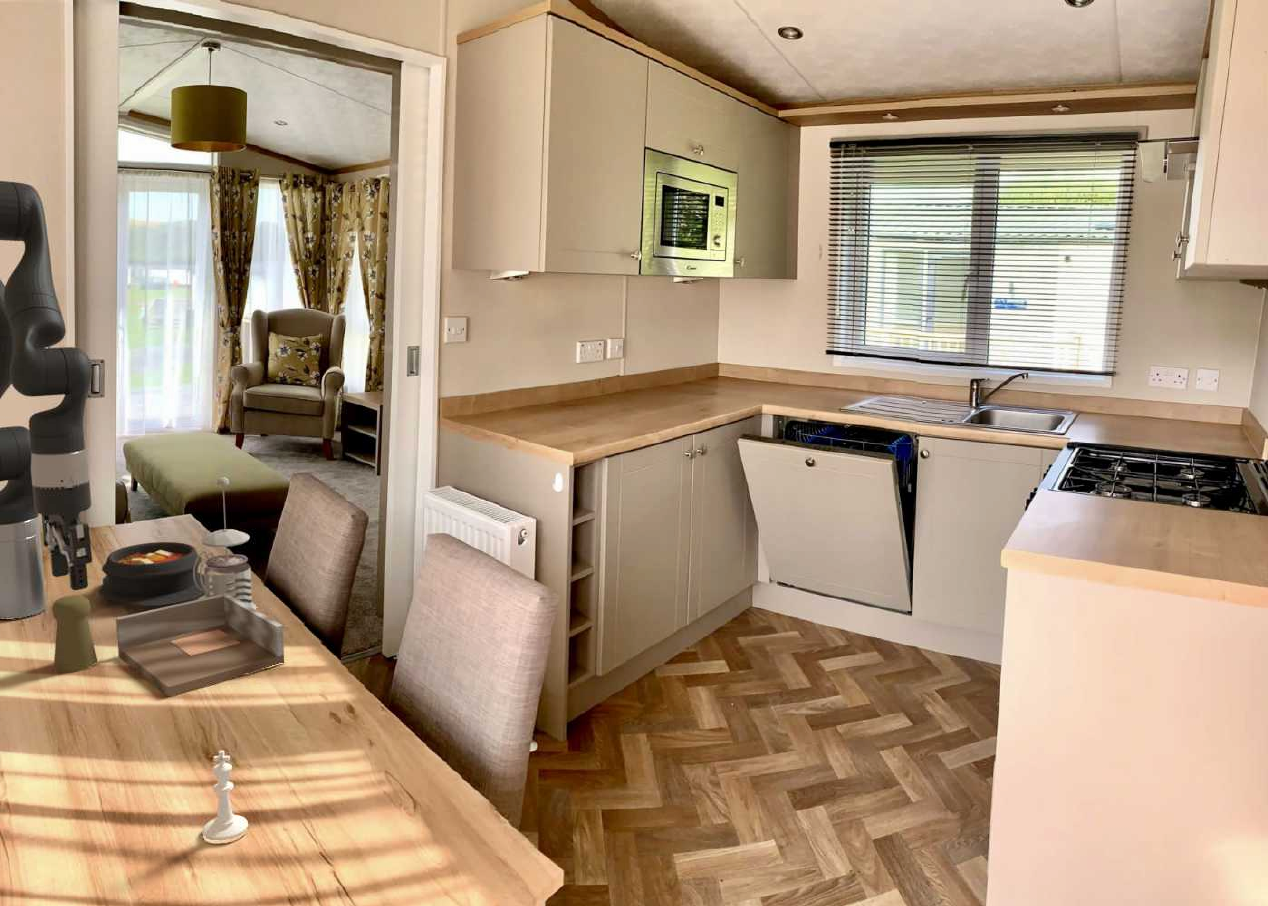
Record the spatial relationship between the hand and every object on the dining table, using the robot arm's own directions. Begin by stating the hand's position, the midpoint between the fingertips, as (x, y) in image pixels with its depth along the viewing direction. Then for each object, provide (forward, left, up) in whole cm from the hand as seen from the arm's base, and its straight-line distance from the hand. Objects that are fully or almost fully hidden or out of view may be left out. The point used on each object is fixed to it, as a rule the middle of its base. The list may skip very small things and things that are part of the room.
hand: (70, 582), depth 152 cm
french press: (-7, +27, -14) cm, 31 cm away
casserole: (-25, +21, -14) cm, 35 cm away
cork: (0, 0, -14) cm, 14 cm away
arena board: (+11, +15, -14) cm, 23 cm away
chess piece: (+60, -3, -14) cm, 61 cm away
